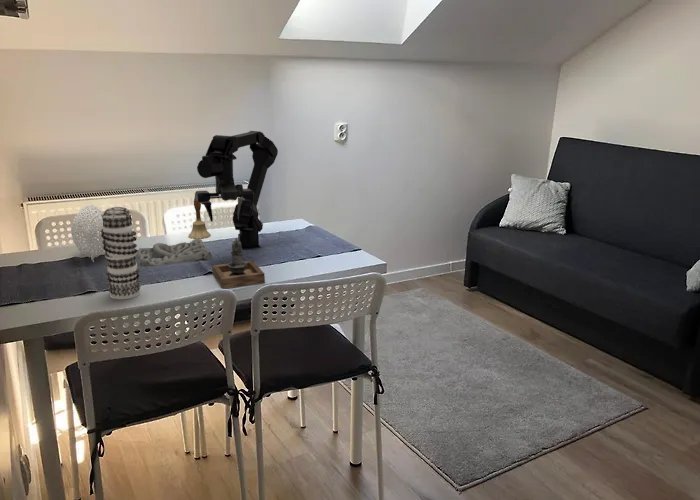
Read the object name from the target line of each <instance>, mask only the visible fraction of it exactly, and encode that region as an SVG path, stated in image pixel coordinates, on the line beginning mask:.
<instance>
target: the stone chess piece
mask: <svg viewBox="0 0 700 500" xmlns="http://www.w3.org/2000/svg"><path fill="white" fill-rule="evenodd" d="M242 250H243V249H242V248H241V242H240V241H238V237H236V238H235V240H234V241H233V242H232V243H231V252H230V254H231V262H229V263H227V264H228V267H229V269H230V271H231V272H232V273H231V274H230V275H229V276H236V275H244V274H246V273H244V271H245V269H246V266H247V263H246V261H244V259H243V254H244V252H243V251H242Z"/></svg>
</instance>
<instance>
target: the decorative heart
mask: <svg viewBox="0 0 700 500" xmlns="http://www.w3.org/2000/svg"><path fill="white" fill-rule="evenodd" d="M102 214H104V212H103V211H102V210H101V208H99V207H98V206H96V205H93V204H88V205H85V206H83V207H82V208H81V209H80V210H79V211H78V213H77V214H76V215H75V216H74V217H73V219H72V223H71V227H70V229H71V237H72V240H73V242H74V244H75V247H77V249H78V250H79V251H80V253H82V254H83V255H84V256H86V257H88V258H90V257H91V258H90V259H91V260H92V263H94V262H95V260H94V259H96V258H98V257H99V256H100V255H101V254H102V253H103V252H104V251H105V250H104V249H103V247H104V244H103V243H102V242H103V240H104V239H103V237H101V235H102V232H101V231H102V230H101V229H103V219H102V216H101V215H102ZM104 236H105V234H104ZM105 243H106V242H105ZM95 257H96V258H95Z"/></svg>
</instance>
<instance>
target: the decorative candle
mask: <svg viewBox="0 0 700 500" xmlns="http://www.w3.org/2000/svg"><path fill="white" fill-rule="evenodd" d="M132 215H133V212H131V211H130V210H129V209H128V208H126V207H125V206H112V207H110V208H106V209H105V211H104V212H103V214H102V215H101V216H102V219H103V229H101V230H102V231H101V232H102V235H101V238H102V237H103V239H104V240H103V242H102V243H103V244H104V247H103V249H104V250H103V251H104V257H105V258H106V259H107V260H106V261H107V268H106V269H107V271H106V276H107V278H106V280H107V281H108V284H107V287H108V292H109V297H110V298H112V299H113V300H114V299H116V300H128V299H133V298H135V297H137V296H139V295H141V292H142V291H141V287H142V286H141V285H140V283H141V280H140V279H139V278H140V275H139V271H140V269H139V268H138V264H137V261H136V260H137V259H136V257H137V252H138V251H137V250H138V249H137V246H138V245H137V244H136V243H134V242H135V241H137V240H138V238H137V237H136V235H137V232H136V231H134V224H133V222H132V221H133V218H132ZM101 232H100V233H101ZM104 234H105V236H104ZM105 242H106V243H105Z"/></svg>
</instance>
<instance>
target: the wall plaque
mask: <svg viewBox="0 0 700 500" xmlns="http://www.w3.org/2000/svg"><path fill="white" fill-rule="evenodd" d="M136 250H137V255H136V257H137V256H138V257H137V259H138V260H139V266H141V267H156V266H155V265H157V266H163V264H165V265H173V264H174V265H175V264H182V263H189V262H190V263H191V262H196V261H197V260H202V259H204V260H206V261H207V260H208V261H209V260H211V259H212V253H211V251H210V250H209V249H208V247H207V246H206V244H205V243H204V241H203V239H193V240H191V241H190V242H179V243H176V244H172V245H170V244H169V245H168V243H163V242H157V243H154V244H153V245H152V247H139V248H138V249H136ZM152 258H153V259H152ZM154 258H158V259H154ZM161 258H162V259H161ZM210 258H211V259H210Z"/></svg>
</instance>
